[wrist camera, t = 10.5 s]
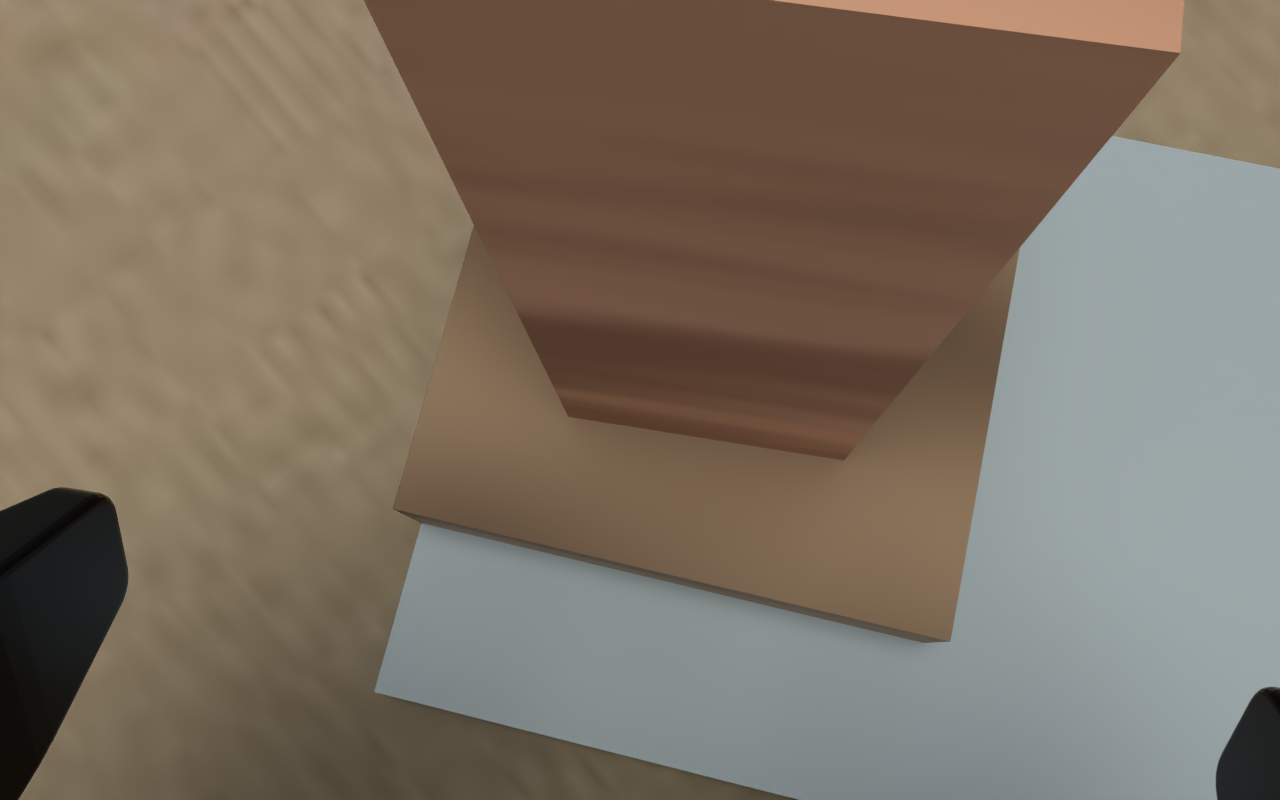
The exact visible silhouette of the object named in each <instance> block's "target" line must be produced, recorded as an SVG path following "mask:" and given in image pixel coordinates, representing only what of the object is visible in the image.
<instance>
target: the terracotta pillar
mask: <svg viewBox="0 0 1280 800" xmlns="http://www.w3.org/2000/svg"><path fill="white" fill-rule="evenodd" d="M364 1H365V3H366V5H367V7H368V10H369V12H370V14H371V16H372V18H373V20H374V22H375V24H376V26H377V28H378V30H379V32H380V34H381V36H382V38H383V40H384V42H385V44H386V46H387V48H388V50H389V52H390V54H391V56H392V58H393V60H394V63H395V65H396V67H397V69H398V71H399V73H400V75H401V77H402V79H403V81H404V83H405V85H406V87H407V89H408V91H409V93H410V95H411V97H412V99H413V101H414V103H415V105H416V107H417V109H418V111H419V114H420V116H421V118H422V120H423V122H424V124H425V126H426V128H427V130H428V132H429V134H430V136H431V138H432V140H433V142H434V144H435V146H436V148H437V150H438V152H439V154H440V156H441V158H442V160H443V162H444V164H445V167H446V169H447V171H448V173H449V175H450V177H451V179H452V181H453V183H454V185H455V187H456V189H457V191H458V193H459V195H460V197H461V199H462V201H463V203H464V205H465V207H466V209H467V211H468V213H469V215H470V217H471V220H472V222H473V224H474V226H475V228H476V230H477V232H478V234H479V236H480V238H481V240H482V242H483V244H484V246H485V248H486V250H487V252H488V254H489V256H490V258H491V260H492V262H493V264H494V266H495V268H496V270H497V273H498V275H499V277H500V279H501V281H502V283H503V285H504V287H505V289H506V291H507V293H508V295H509V297H510V299H511V301H512V303H513V305H514V307H515V309H516V311H517V313H518V315H519V317H520V319H521V321H522V323H523V326H524V328H525V330H526V332H527V334H528V336H529V338H530V340H531V342H532V344H533V346H534V348H535V350H536V352H537V354H538V356H539V358H540V360H541V362H542V364H543V366H544V368H545V370H546V372H547V374H548V376H549V379H550V381H551V383H552V385H553V387H554V389H555V391H556V393H557V395H558V397H559V399H560V401H561V403H562V405H563V407H564V409H565V411H566V413H567V415H568V417H573V418H579V419H586V420H592V421H598V422H604V423H611V424H617V425H623V426H630V427H636V428H642V429H649V430H655V431H661V432H667V433H674V434H680V435H686V436H693V437H699V438H705V439H712V440H718V441H724V442H730V443H737V444H743V445H749V446H756V447H762V448H768V449H775V450H781V451H787V452H793V453H800V454H806V455H812V456H819V457H825V458H831V459H838V460H845V459H846V458H847V457H848V455H849V454H850V453H851V452H852V451H853V449H854V448H855V447H856V446H857V444H858V443H859V442H860V441H861V440H862V438H863V437H864V436H865V435H866V434H867V432H868V431H869V430H870V429H871V428H872V426H873V425H874V424H875V423H876V421H877V420H878V419H879V418H880V417H881V415H882V414H883V413H884V412H885V411H886V409H887V408H888V407H889V406H890V404H891V403H892V402H893V401H894V400H895V398H896V397H897V396H898V395H899V394H900V392H901V391H902V390H903V389H904V388H905V386H906V385H907V384H908V383H909V381H910V380H911V379H912V378H913V377H914V375H915V374H916V373H917V372H918V371H919V369H920V368H921V367H922V366H923V364H924V363H925V362H926V361H927V360H928V358H929V357H930V356H931V355H932V354H933V352H934V351H935V350H936V349H937V348H938V346H939V345H940V344H941V343H942V341H943V340H944V339H945V338H946V337H947V335H948V334H949V333H950V332H951V331H952V329H953V328H954V327H955V326H956V324H957V323H958V322H959V321H960V320H961V318H962V317H963V316H964V315H965V314H966V312H967V311H968V310H969V309H970V307H971V306H972V305H973V304H974V303H975V301H976V300H977V299H978V298H979V297H980V295H981V294H982V293H983V292H984V291H985V289H986V288H987V287H988V286H989V284H990V283H991V282H992V281H993V280H994V278H995V277H996V276H997V275H998V274H999V272H1000V271H1001V270H1002V269H1003V267H1004V266H1005V265H1006V264H1007V263H1008V261H1009V260H1010V259H1011V258H1012V257H1013V255H1014V254H1015V253H1016V252H1017V251H1018V249H1019V248H1020V247H1021V246H1022V244H1023V243H1024V242H1025V241H1026V240H1027V238H1028V237H1029V236H1030V235H1031V234H1032V232H1033V231H1034V230H1035V229H1036V227H1037V226H1038V225H1039V224H1040V223H1041V221H1042V220H1043V219H1044V218H1045V217H1046V215H1047V214H1048V213H1049V212H1050V211H1051V209H1052V208H1053V207H1054V206H1055V204H1056V203H1057V202H1058V201H1059V200H1060V198H1061V197H1062V196H1063V195H1064V194H1065V192H1066V191H1067V190H1068V189H1069V187H1070V186H1071V185H1072V184H1073V183H1074V181H1075V180H1076V179H1077V178H1078V177H1079V175H1080V174H1081V173H1082V172H1083V170H1084V169H1085V168H1086V167H1087V166H1088V164H1089V163H1090V162H1091V161H1092V160H1093V158H1094V157H1095V156H1096V155H1097V154H1098V152H1099V151H1100V150H1101V149H1102V147H1103V146H1104V145H1105V144H1106V143H1107V141H1108V140H1109V139H1110V138H1111V137H1112V135H1113V134H1114V133H1115V132H1116V130H1117V129H1118V128H1119V127H1120V126H1121V124H1122V123H1123V122H1124V121H1125V120H1126V118H1127V117H1128V116H1129V115H1130V114H1131V112H1132V111H1133V110H1134V109H1135V107H1136V106H1137V105H1138V104H1139V103H1140V101H1141V100H1142V99H1143V98H1144V97H1145V95H1146V94H1147V93H1148V92H1149V90H1150V89H1151V88H1152V87H1153V86H1154V84H1155V83H1156V82H1157V81H1158V80H1159V78H1160V77H1161V76H1162V75H1163V74H1164V72H1165V71H1166V70H1167V69H1168V67H1169V66H1170V65H1171V64H1172V63H1173V61H1174V60H1175V59H1176V58H1177V57H1178V55H1179V54H1180V51H1181V38H1182V24H1183V10H1184V0H364Z"/></svg>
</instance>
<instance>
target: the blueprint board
mask: <svg viewBox="0 0 1280 800" xmlns="http://www.w3.org/2000/svg"><path fill="white" fill-rule="evenodd" d="M1265 687H1279V688H1280V169H1278V168H1273V167H1268V166H1263V165H1258V164H1253V163H1248V162H1243V161H1237V160H1232V159H1227V158H1222V157H1217V156H1212V155H1207V154H1202V153H1197V152H1192V151H1186V150H1181V149H1176V148H1171V147H1166V146H1161V145H1156V144H1151V143H1146V142H1141V141H1135V140H1130V139H1125V138H1120V137H1115V136H1112V137H1111V138H1110V139H1109V140H1108V141H1107V143H1106V144H1105V145H1104V146H1103V147H1102V149H1101V150H1100V151H1099V152H1098V154H1097V155H1096V156H1095V157H1094V158H1093V160H1092V161H1091V162H1090V163H1089V164H1088V166H1087V167H1086V168H1085V169H1084V170H1083V172H1082V173H1081V174H1080V175H1079V177H1078V178H1077V179H1076V180H1075V181H1074V183H1073V184H1072V185H1071V186H1070V187H1069V189H1068V190H1067V191H1066V192H1065V194H1064V195H1063V196H1062V197H1061V198H1060V200H1059V201H1058V202H1057V203H1056V204H1055V206H1054V207H1053V208H1052V209H1051V211H1050V212H1049V213H1048V214H1047V215H1046V217H1045V218H1044V219H1043V220H1042V221H1041V223H1040V224H1039V225H1038V226H1037V227H1036V229H1035V230H1034V231H1033V232H1032V234H1031V235H1030V236H1029V237H1028V238H1027V240H1026V241H1025V242H1024V243H1023V244H1022V246H1021V247H1020V250H1019V256H1018V261H1017V267H1016V273H1015V278H1014V284H1013V290H1012V295H1011V301H1010V307H1009V312H1008V318H1007V324H1006V329H1005V335H1004V341H1003V346H1002V352H1001V358H1000V363H999V369H998V375H997V380H996V386H995V392H994V397H993V403H992V409H991V415H990V420H989V426H988V432H987V437H986V443H985V449H984V454H983V460H982V466H981V471H980V477H979V483H978V488H977V494H976V500H975V505H974V511H973V517H972V522H971V528H970V534H969V539H968V545H967V551H966V556H965V562H964V568H963V573H962V579H961V585H960V590H959V596H958V602H957V607H956V613H955V619H954V624H953V630H952V636H951V641H950V642H932V643H922V642H918V641H914V640H909V639H905V638H901V637H897V636H893V635H888V634H884V633H880V632H876V631H872V630H867V629H863V628H859V627H855V626H851V625H847V624H842V623H838V622H834V621H830V620H826V619H821V618H817V617H813V616H809V615H805V614H800V613H796V612H792V611H788V610H784V609H780V608H775V607H771V606H767V605H763V604H759V603H754V602H750V601H746V600H742V599H738V598H733V597H729V596H725V595H721V594H717V593H713V592H708V591H704V590H700V589H696V588H692V587H687V586H683V585H679V584H675V583H671V582H667V581H662V580H658V579H654V578H650V577H646V576H641V575H637V574H633V573H629V572H625V571H620V570H616V569H612V568H608V567H604V566H600V565H595V564H591V563H587V562H583V561H579V560H574V559H570V558H566V557H562V556H558V555H553V554H549V553H545V552H541V551H537V550H533V549H528V548H524V547H520V546H516V545H512V544H507V543H503V542H499V541H495V540H491V539H486V538H482V537H478V536H474V535H470V534H466V533H461V532H457V531H453V530H449V529H445V528H440V527H436V526H432V525H428V524H424V523H421V526H420V530H419V533H418V537H417V541H416V544H415V548H414V551H413V555H412V559H411V562H410V566H409V569H408V573H407V576H406V580H405V584H404V587H403V591H402V594H401V598H400V601H399V605H398V609H397V612H396V616H395V619H394V623H393V626H392V630H391V634H390V637H389V641H388V644H387V648H386V651H385V655H384V659H383V662H382V666H381V669H380V673H379V676H378V680H377V684H376V687H375V691H374V692H376V693H380V694H384V695H388V696H392V697H396V698H400V699H404V700H408V701H412V702H416V703H419V704H423V705H427V706H431V707H435V708H439V709H443V710H447V711H451V712H455V713H459V714H463V715H467V716H471V717H475V718H479V719H483V720H486V721H490V722H494V723H498V724H502V725H506V726H510V727H514V728H518V729H522V730H526V731H530V732H534V733H538V734H542V735H546V736H550V737H553V738H557V739H561V740H565V741H569V742H573V743H577V744H581V745H585V746H589V747H593V748H597V749H601V750H605V751H609V752H613V753H617V754H620V755H624V756H628V757H632V758H636V759H640V760H644V761H648V762H652V763H656V764H660V765H664V766H668V767H672V768H676V769H680V770H684V771H687V772H691V773H695V774H699V775H703V776H707V777H711V778H715V779H719V780H723V781H727V782H731V783H735V784H739V785H743V786H747V787H751V788H754V789H758V790H762V791H766V792H770V793H774V794H778V795H782V796H786V797H790V798H794V799H798V800H1217V795H1216V769H1217V765H1218V761H1219V758H1220V756H1221V754H1222V752H1223V750H1224V748H1225V746H1226V744H1227V743H1228V741H1229V739H1230V737H1231V735H1232V733H1233V731H1234V730H1235V728H1236V726H1237V724H1238V722H1239V720H1240V719H1241V717H1242V715H1243V713H1244V711H1245V709H1246V707H1247V706H1248V704H1249V702H1250V700H1251V699H1252V697H1253V696H1254V694H1255V693H1256V692H1258V691H1259V690H1260V689H1262V688H1265Z"/></svg>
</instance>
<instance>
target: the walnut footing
mask: <svg viewBox="0 0 1280 800" xmlns="http://www.w3.org/2000/svg"><path fill="white" fill-rule="evenodd" d="M1019 250H1020V248H1019V249H1018V251H1017V252H1016V253H1015V254H1014V255H1013V257H1012V258H1011V259H1010V260H1009V261H1008V263H1007V264H1006V265H1005V266H1004V267H1003V269H1002V270H1001V271H1000V272H999V274H998V275H997V276H996V277H995V278H994V280H993V281H992V282H991V283H990V284H989V286H988V287H987V288H986V289H985V291H984V292H983V293H982V294H981V295H980V297H979V298H978V299H977V300H976V301H975V303H974V304H973V305H972V306H971V307H970V309H969V310H968V311H967V312H966V314H965V315H964V316H963V317H962V318H961V320H960V321H959V322H958V323H957V324H956V326H955V327H954V328H953V329H952V331H951V332H950V333H949V334H948V335H947V337H946V338H945V339H944V340H943V341H942V343H941V344H940V345H939V346H938V348H937V349H936V350H935V351H934V352H933V354H932V355H931V356H930V357H929V358H928V360H927V361H926V362H925V363H924V364H923V366H922V367H921V368H920V369H919V371H918V372H917V373H916V374H915V375H914V377H913V378H912V379H911V380H910V381H909V383H908V384H907V385H906V386H905V388H904V389H903V390H902V391H901V392H900V394H899V395H898V396H897V397H896V398H895V400H894V401H893V402H892V403H891V404H890V406H889V407H888V408H887V409H886V411H885V412H884V413H883V414H882V415H881V417H880V418H879V419H878V420H877V421H876V423H875V424H874V425H873V426H872V428H871V429H870V430H869V431H868V432H867V434H866V435H865V436H864V437H863V438H862V440H861V441H860V442H859V443H858V444H857V446H856V447H855V448H854V449H853V451H852V452H851V453H850V454H849V455H848V457H847V458H846V459H845V460H838V459H831V458H825V457H819V456H812V455H806V454H800V453H793V452H787V451H781V450H775V449H768V448H762V447H756V446H749V445H743V444H737V443H730V442H724V441H718V440H712V439H705V438H699V437H693V436H686V435H680V434H674V433H667V432H661V431H655V430H649V429H642V428H636V427H630V426H623V425H617V424H611V423H604V422H598V421H592V420H586V419H579V418H573V417H568V415H567V413H566V411H565V409H564V407H563V405H562V403H561V401H560V399H559V397H558V395H557V393H556V391H555V389H554V387H553V385H552V383H551V381H550V379H549V376H548V374H547V372H546V370H545V368H544V366H543V364H542V362H541V360H540V358H539V356H538V354H537V352H536V350H535V348H534V346H533V344H532V342H531V340H530V338H529V336H528V334H527V332H526V330H525V328H524V326H523V323H522V321H521V319H520V317H519V315H518V313H517V311H516V309H515V307H514V305H513V303H512V301H511V299H510V297H509V295H508V293H507V291H506V289H505V287H504V285H503V283H502V281H501V279H500V277H499V275H498V273H497V270H496V268H495V266H494V264H493V262H492V260H491V258H490V256H489V254H488V252H487V250H486V248H485V246H484V244H483V242H482V240H481V238H480V236H479V234H478V232H477V230H476V228H475V226H474V227H473V231H472V234H471V238H470V241H469V245H468V248H467V252H466V255H465V259H464V262H463V266H462V269H461V273H460V276H459V280H458V283H457V287H456V290H455V294H454V297H453V301H452V304H451V308H450V311H449V315H448V318H447V322H446V325H445V329H444V332H443V336H442V339H441V343H440V346H439V350H438V353H437V357H436V360H435V364H434V367H433V371H432V374H431V378H430V381H429V385H428V388H427V392H426V395H425V399H424V402H423V406H422V409H421V413H420V416H419V420H418V423H417V427H416V430H415V434H414V437H413V441H412V444H411V448H410V451H409V455H408V458H407V462H406V465H405V469H404V472H403V476H402V479H401V483H400V486H399V490H398V493H397V497H396V500H395V504H394V507H393V509H394V510H396V511H398V512H400V513H402V514H404V515H406V516H408V517H410V518H412V519H414V520H416V521H418V522H421V523H424V524H428V525H432V526H436V527H440V528H445V529H449V530H453V531H457V532H461V533H466V534H470V535H474V536H478V537H482V538H486V539H491V540H495V541H499V542H503V543H507V544H512V545H516V546H520V547H524V548H528V549H533V550H537V551H541V552H545V553H549V554H553V555H558V556H562V557H566V558H570V559H574V560H579V561H583V562H587V563H591V564H595V565H600V566H604V567H608V568H612V569H616V570H620V571H625V572H629V573H633V574H637V575H641V576H646V577H650V578H654V579H658V580H662V581H667V582H671V583H675V584H679V585H683V586H687V587H692V588H696V589H700V590H704V591H708V592H713V593H717V594H721V595H725V596H729V597H733V598H738V599H742V600H746V601H750V602H754V603H759V604H763V605H767V606H771V607H775V608H780V609H784V610H788V611H792V612H796V613H800V614H805V615H809V616H813V617H817V618H821V619H826V620H830V621H834V622H838V623H842V624H847V625H851V626H855V627H859V628H863V629H867V630H872V631H876V632H880V633H884V634H888V635H893V636H897V637H901V638H905V639H909V640H914V641H918V642H922V643H932V642H950V641H951V636H952V630H953V624H954V619H955V613H956V607H957V602H958V596H959V590H960V585H961V579H962V573H963V568H964V562H965V556H966V551H967V545H968V539H969V534H970V528H971V522H972V517H973V511H974V505H975V500H976V494H977V488H978V483H979V477H980V471H981V466H982V460H983V454H984V449H985V443H986V437H987V432H988V426H989V420H990V415H991V409H992V403H993V397H994V392H995V386H996V380H997V375H998V369H999V363H1000V358H1001V352H1002V346H1003V341H1004V335H1005V329H1006V324H1007V318H1008V312H1009V307H1010V301H1011V295H1012V290H1013V284H1014V278H1015V273H1016V267H1017V261H1018V256H1019Z"/></svg>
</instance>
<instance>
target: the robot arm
mask: <svg viewBox="0 0 1280 800" xmlns="http://www.w3.org/2000/svg"><path fill="white" fill-rule="evenodd" d="M127 585H128V567H127V562H126V557H125V552H124V548H123V543H122V538H121V533H120V528H119V523H118V518H117V513H116V509H115V506H114V504H113V502H112V501H111V500H110V498H109V497H107V496H105V495H103V494H101V493H96V492H90V491H84V490H78V489H72V488H54V489H51V490H48V491H46V492H43V493H41V494H39V495H37V496H34V497H32V498H30V499H27V500H25V501H23V502H20V503H18V504H16V505H14V506H11V507H9V508H7V509H4V510H2V511H0V800H18V799H19V797H20V796H21V794H22V793H23V791H24V789H25V788H26V786H27V785H28V783H29V781H30V780H31V778H32V776H33V775H34V773H35V771H36V770H37V768H38V767H39V765H40V763H41V761H42V759H43V758H44V756H45V754H46V752H47V750H48V748H49V747H50V745H51V743H52V741H53V739H54V737H55V735H56V733H57V731H58V729H59V727H60V725H61V723H62V722H63V720H64V718H65V716H66V714H67V712H68V710H69V708H70V706H71V704H72V702H73V700H74V698H75V696H76V694H77V692H78V690H79V688H80V686H81V684H82V682H83V680H84V678H85V676H86V674H87V672H88V670H89V668H90V666H91V664H92V662H93V660H94V658H95V656H96V654H97V652H98V650H99V648H100V646H101V644H102V642H103V640H104V638H105V636H106V634H107V632H108V630H109V628H110V626H111V624H112V622H113V620H114V618H115V616H116V614H117V612H118V610H119V608H120V606H121V604H122V602H123V600H124V597H125V594H126V590H127ZM1216 795H1217V800H1280V688H1279V687H1265V688H1262V689H1260V690H1259V691H1258V692H1256V693H1255V694H1254V696H1253V697H1252V699H1251V700H1250V702H1249V704H1248V706H1247V707H1246V709H1245V711H1244V713H1243V715H1242V717H1241V719H1240V720H1239V722H1238V724H1237V726H1236V728H1235V730H1234V731H1233V733H1232V735H1231V737H1230V739H1229V741H1228V743H1227V744H1226V746H1225V748H1224V750H1223V752H1222V754H1221V756H1220V758H1219V761H1218V765H1217V769H1216Z"/></svg>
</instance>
